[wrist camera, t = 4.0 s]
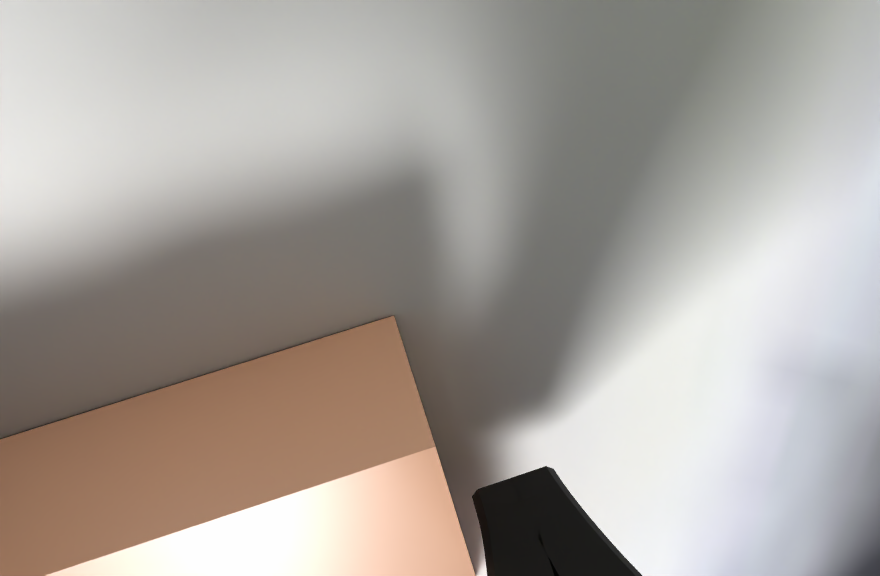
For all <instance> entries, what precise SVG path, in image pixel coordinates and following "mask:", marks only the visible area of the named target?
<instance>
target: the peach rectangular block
mask: <svg viewBox="0 0 880 576" xmlns="http://www.w3.org/2000/svg"><path fill="white" fill-rule="evenodd" d="M0 576H475V572H474V569H473V566H472V563H471V559H470V556H469V553H468V550H467V546H466V543H465V540H464V537H463V533H462V530H461V527H460V524H459V521H458V517H457V514H456V511H455V508H454V504H453V501H452V498H451V495H450V491H449V488H448V485H447V482H446V479H445V475H444V472H443V469H442V466H441V462H440V459H439V456H438V453H437V449H436V446H435V443H434V440H433V437H432V434H431V430H430V427H429V424H428V421H427V418H426V415H425V412H424V409H423V405H422V402H421V399H420V396H419V393H418V390H417V387H416V383H415V380H414V377H413V374H412V371H411V368H410V365H409V361H408V358H407V355H406V352H405V349H404V346H403V343H402V339H401V336H400V333H399V330H398V327H397V324H396V321H395V317H394V316H391V317H387V318H384V319H381V320H378V321H375V322H372V323H368V324H365V325H362V326H359V327H356V328H353V329H349V330H346V331H343V332H340V333H337V334H333V335H330V336H327V337H324V338H321V339H318V340H314V341H311V342H308V343H305V344H302V345H299V346H295V347H292V348H289V349H286V350H283V351H279V352H276V353H273V354H270V355H267V356H264V357H260V358H257V359H254V360H251V361H248V362H245V363H241V364H238V365H235V366H232V367H229V368H225V369H222V370H219V371H216V372H213V373H210V374H206V375H203V376H200V377H197V378H194V379H191V380H187V381H184V382H181V383H178V384H175V385H171V386H168V387H165V388H162V389H159V390H156V391H152V392H149V393H146V394H143V395H140V396H136V397H133V398H130V399H127V400H124V401H121V402H117V403H114V404H111V405H108V406H105V407H102V408H98V409H95V410H92V411H89V412H86V413H82V414H79V415H76V416H73V417H70V418H67V419H63V420H60V421H57V422H54V423H51V424H48V425H44V426H41V427H38V428H35V429H32V430H28V431H25V432H22V433H19V434H16V435H13V436H9V437H6V438H3V439H0Z"/></svg>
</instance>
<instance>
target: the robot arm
mask: <svg viewBox="0 0 880 576" xmlns="http://www.w3.org/2000/svg"><path fill="white" fill-rule="evenodd" d="M472 498H473V502H474V505H475V509H476V513H477V516H478V520H479V523H480V528H481V533H482V538H483V544H484V551H485V559H486V567H487V576H642V575H641V574H640V573H639V572H638V571H637V570H636V569H635V567H634V566H633V565H632V564H631V563H630V562H629V561H628V560H627V559H626V558H625V557H624V556H623V555H622V554H621V553H620V552H619V550H618V549H617V548H616V547H615V546H614V545H613V544H612V543H611V542H610V541H609V539H608V538H607V537H606V536H605V535H604V534H603V532H602V531H601V530H600V529H599V528H598V527H597V525H596V524H595V523H594V522H593V521H592V520H591V518H590V517H589V516H588V515H587V513H586V512H585V511H584V510H583V509H582V507H581V506H580V505H579V504H578V502H577V501H576V500H575V498H574V497H573V496H572V495H571V493H570V492H569V490H568V489H567V488H566V486H565V485H564V484H563V482H562V481H561V479H560V478H559V477H558V475H557V474H556V472H555V470H554V469H552V468H549V467H547V466H545V467H542V468H539V469H536V470H533V471H530V472H527V473H525V474H522V475H519V476H516V477H513V478H510V479H507V480H504V481H501V482H498V483H495V484H492V485H489V486H486V487H483V488H480V489H478V490H477V491H476V492H475V493H474V494H473V496H472Z"/></svg>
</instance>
